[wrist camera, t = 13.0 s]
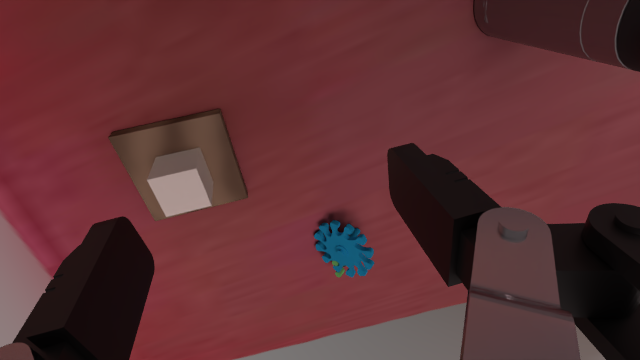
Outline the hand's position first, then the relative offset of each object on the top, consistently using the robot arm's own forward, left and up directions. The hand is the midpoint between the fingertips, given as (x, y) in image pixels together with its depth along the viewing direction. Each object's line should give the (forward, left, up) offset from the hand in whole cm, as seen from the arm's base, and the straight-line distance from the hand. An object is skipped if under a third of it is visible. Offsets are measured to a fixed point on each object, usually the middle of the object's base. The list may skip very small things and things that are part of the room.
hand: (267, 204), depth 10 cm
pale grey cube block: (+10, +12, -28) cm, 32 cm away
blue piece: (-7, +31, -30) cm, 44 cm away
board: (+10, +13, -30) cm, 34 cm away
